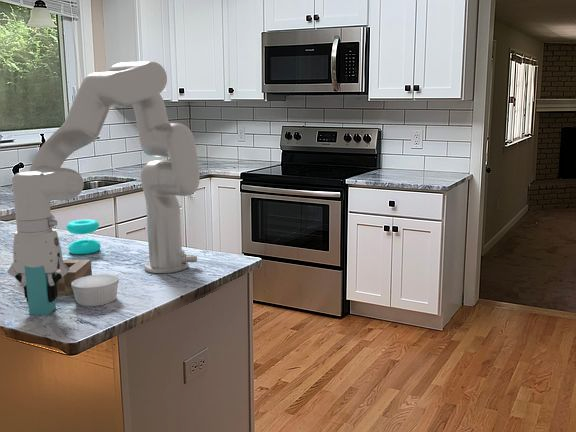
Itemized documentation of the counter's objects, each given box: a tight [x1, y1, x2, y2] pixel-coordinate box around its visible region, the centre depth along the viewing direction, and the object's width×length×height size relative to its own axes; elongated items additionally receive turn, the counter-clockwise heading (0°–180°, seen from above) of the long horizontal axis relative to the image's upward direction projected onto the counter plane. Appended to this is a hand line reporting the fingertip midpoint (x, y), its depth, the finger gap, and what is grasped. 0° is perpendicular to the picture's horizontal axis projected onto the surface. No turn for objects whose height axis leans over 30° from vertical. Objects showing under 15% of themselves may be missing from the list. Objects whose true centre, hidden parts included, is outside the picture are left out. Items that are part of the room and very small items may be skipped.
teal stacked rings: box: [66, 218, 101, 255], centre depth 201 cm, size 10×10×10 cm
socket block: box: [56, 259, 93, 296], centre depth 164 cm, size 12×12×6 cm
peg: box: [24, 265, 57, 316], centre depth 146 cm, size 4×4×12 cm
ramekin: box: [71, 273, 120, 307], centre depth 154 cm, size 11×11×5 cm
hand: (41, 299), depth 146 cm, fingers closed on peg, 4 cm apart
